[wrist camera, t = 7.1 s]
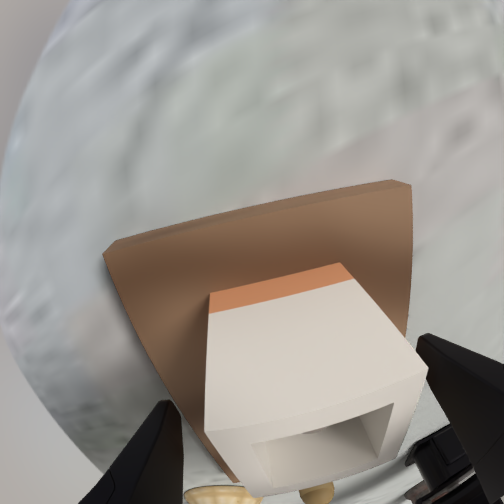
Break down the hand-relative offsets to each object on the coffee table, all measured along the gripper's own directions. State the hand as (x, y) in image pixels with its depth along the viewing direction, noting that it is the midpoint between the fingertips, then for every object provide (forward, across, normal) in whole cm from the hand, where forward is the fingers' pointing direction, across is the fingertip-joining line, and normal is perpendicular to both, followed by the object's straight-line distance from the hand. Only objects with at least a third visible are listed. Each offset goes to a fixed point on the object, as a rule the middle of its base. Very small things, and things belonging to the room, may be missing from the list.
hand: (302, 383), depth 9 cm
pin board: (+4, 0, +5) cm, 7 cm away
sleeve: (+3, 0, 0) cm, 3 cm away
